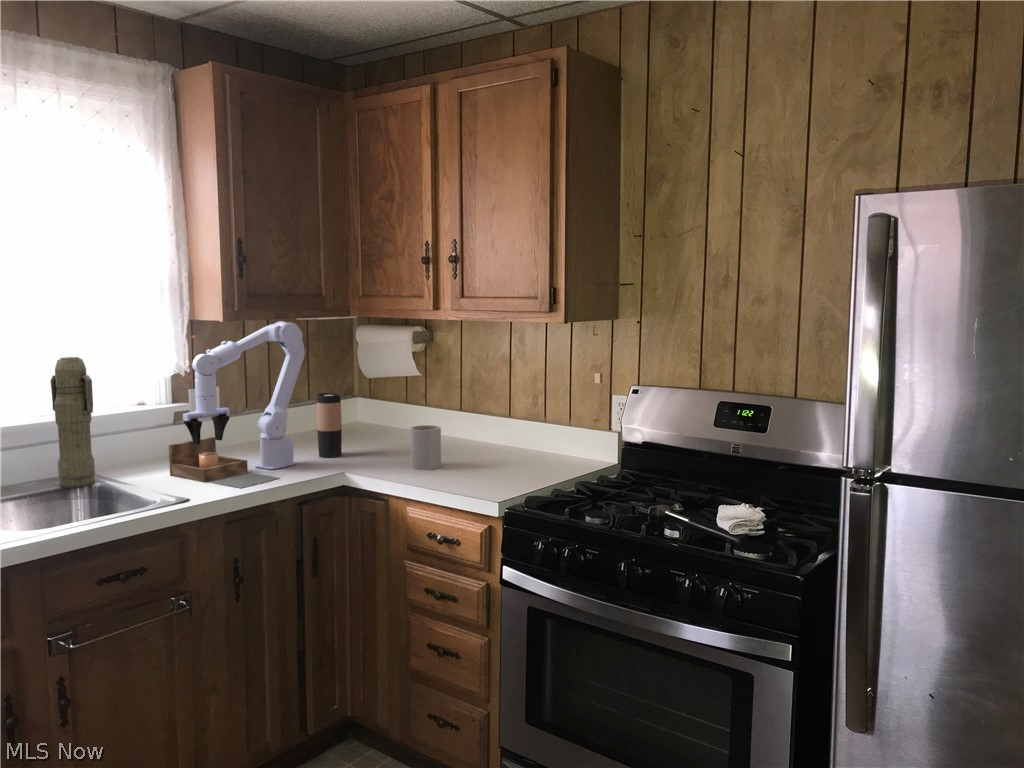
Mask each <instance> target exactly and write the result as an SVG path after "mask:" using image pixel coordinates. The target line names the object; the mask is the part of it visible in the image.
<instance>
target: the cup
mask: <svg viewBox="0 0 1024 768" xmlns="http://www.w3.org/2000/svg"><path fill="white" fill-rule="evenodd" d="M409 429H410V438H409V439H410V469H413V470H416V469H417V471H419V470H420V471H432V470H438V469H441V467H442V452H441V450H442V439H441V436H442V435H441V434H442V429H441V426H438V425H429V424H427V425H421V424H420V425H414V426H413V425H412V426H411V427H410V428H409Z"/></svg>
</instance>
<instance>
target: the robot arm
mask: <svg viewBox="0 0 1024 768" xmlns="http://www.w3.org/2000/svg"><path fill="white" fill-rule="evenodd" d="M265 342H277V344H279V345H280V346H281V348H282V350H283V351H284V353H285V358H284V361H283V364H282V367H281V370H280V372H279V376H278V379H277V382H276V385H275V388H274V389H273V390H274V391H273V394H272V397H271V399H270V402H269V404H268V405H267V407H265V409H264V412H263V414H262V415H260V417H259V419H258V421H257V429H258V430H259V431H260V432H261V433H260V436H259V443H260V444H259V445H260V446H259V447H260V448H259V449H260V463H259V464H255V465H254V467H255V468H258V469H259V468H260V469H266V470H270V471H271V470H277V469H282V468H285V467H291V466H293V465H296V462H294V443H293V440H292V438H291V437H290V436H289V435H285V434H286V432H287V428H288V426H287V420H288V417H289V416H288V406H289V403H290V400H291V398H292V394H293V391H294V388H295V385H296V382H297V380H298V377H299V373H300V371H301V368H302V364H303V362H304V358H305V356H306V351H305V345H304V341H303V332H302V331H301V329H300V327H299V326H298V325H297V324H296V323H294V322H291V321H290V322H286V321H282V320H280V321H276V322H275V323H271V324H269V325H266V326H264V327H262V328H260V329H258V330H256V331H254V332H253V333H251V334H249V335H247V336H245V337H244V338H242V339H240V340H237V341H236V342H235V341H231V340H228V341H226V340H223V341H221V342H220V345H219V346H217V347H214V348H212V349H206V351H205V352H206V353H199V354H197V355H196V356H195V357H194V359H193V360H192V363H191V367H192V370H193V371H194V389H195V390H194V392H195V411H194V410H193V411H189V412H187V413H186V412H185V413H183V414H182V421H183V423H184V425H185V427H186V428H187V430H188V431H189V434H190V437H191V441H193V443H194V444H196V445H199V444H200V439H201V429H202V425H203V421H199V420H200V419H207V418H211V419H212V423H213V429H214V437H215V441H223V437H224V432H225V429H226V426H227V424H228V422H229V420H230V407H220V408H219V407H218V398H217V380H216V379H217V378H216V372H217V370H218V369H221V368H224V366H227V365H230V363H233V362H234V361H236V360H239V359H240V357H241V354H242V353H243V352H244V351H248V350H249V349H252V348H254V347H256V346H258V345H260V344H263V343H265Z"/></svg>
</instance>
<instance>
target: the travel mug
mask: <svg viewBox="0 0 1024 768" xmlns="http://www.w3.org/2000/svg"><path fill="white" fill-rule="evenodd" d="M341 395H342V394H341V393H338V392H323V393H322V392H321V393H318V394H316V423H317V424H316V425H317V426H316V429H317V430H316V431H317V446H318V457H319V458H323V459H335V458H338V457H341V456H342V444H343V443H342V438H343V437H342V436H343V433H342V428H343V427H342V397H341Z"/></svg>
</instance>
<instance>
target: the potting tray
mask: <svg viewBox="0 0 1024 768" xmlns="http://www.w3.org/2000/svg"><path fill="white" fill-rule="evenodd" d="M216 445H217V444H216V439H215V436H209V437H204V438H200V444H199V445H196V444H194V443H193V440H189V441H182V442H177V443H172V444H168V456H169V457H168V458H169V461H168V462H169V477H177V478H181V479H184V480H185V479H186V480H191V481H197V482H202V483H206V482H211V481H212V482H213V481H215V480H216V481H217V480H221V479H226V478H230V477H234V476H238V475H243V474H247V473H249V471H248V470H249V469H248V468H249V467H248V465H249V464H248V460H246V459H242V458H241V459H240V458H235V457H230V456H225V455H224V456H223V455H218V466H214V467H210V468H205V469H204V468H199V454H200V453H202V452H210V451H212V452H217V447H216Z"/></svg>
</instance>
